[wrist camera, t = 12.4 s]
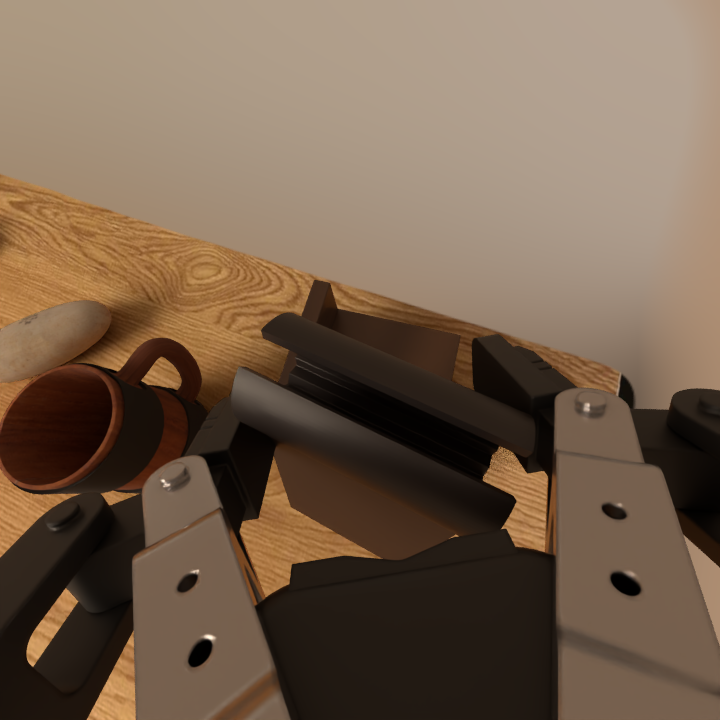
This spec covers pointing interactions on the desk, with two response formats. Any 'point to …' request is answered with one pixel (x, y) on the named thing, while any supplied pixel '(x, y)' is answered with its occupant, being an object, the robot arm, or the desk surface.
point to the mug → (100, 424)
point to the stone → (50, 338)
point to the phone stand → (380, 441)
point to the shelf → (380, 335)
